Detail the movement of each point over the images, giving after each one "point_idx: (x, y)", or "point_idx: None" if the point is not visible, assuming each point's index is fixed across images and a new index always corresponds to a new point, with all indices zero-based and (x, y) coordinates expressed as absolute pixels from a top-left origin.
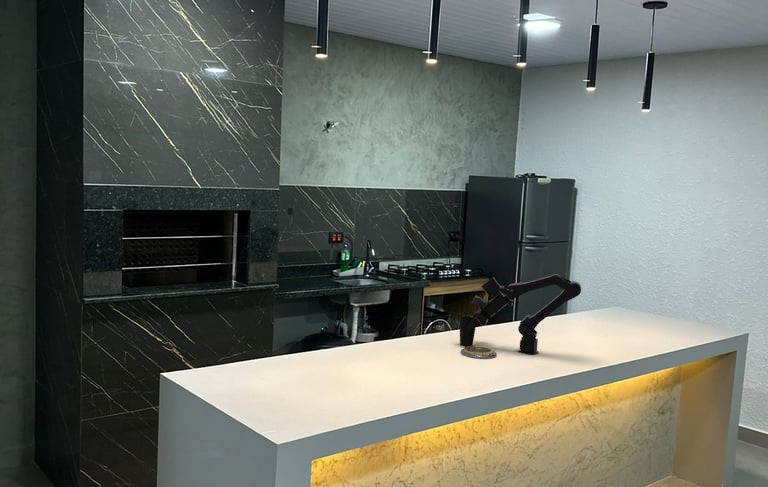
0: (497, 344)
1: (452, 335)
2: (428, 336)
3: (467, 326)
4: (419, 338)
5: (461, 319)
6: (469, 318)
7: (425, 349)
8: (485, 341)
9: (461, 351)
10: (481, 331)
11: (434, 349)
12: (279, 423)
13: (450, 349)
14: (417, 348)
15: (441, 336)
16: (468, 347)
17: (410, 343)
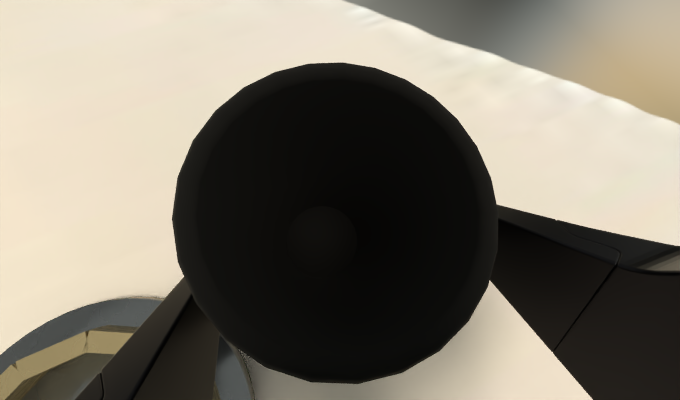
0: (490, 395)
1: (458, 98)
2: (347, 23)
3: (179, 283)
4: (276, 5)
5: (207, 134)
6: (455, 178)
7: (38, 105)
8: (492, 291)
9: (44, 329)
10: (652, 173)
11: (71, 143)
12: None
13: (134, 216)
14: (37, 64)
15: (396, 66)
16: (116, 352)
17: (137, 5)
